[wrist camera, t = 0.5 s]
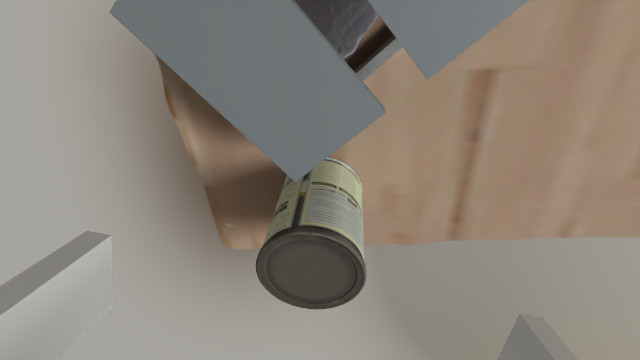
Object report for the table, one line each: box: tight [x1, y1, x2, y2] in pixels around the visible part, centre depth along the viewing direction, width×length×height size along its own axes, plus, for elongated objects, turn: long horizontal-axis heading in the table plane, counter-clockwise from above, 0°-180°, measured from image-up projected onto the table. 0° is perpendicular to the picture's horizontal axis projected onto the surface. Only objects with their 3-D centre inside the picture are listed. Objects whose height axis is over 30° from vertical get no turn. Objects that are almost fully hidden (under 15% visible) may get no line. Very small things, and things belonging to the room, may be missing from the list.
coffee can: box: [256, 157, 366, 309], centre depth 35 cm, size 10×10×14 cm
